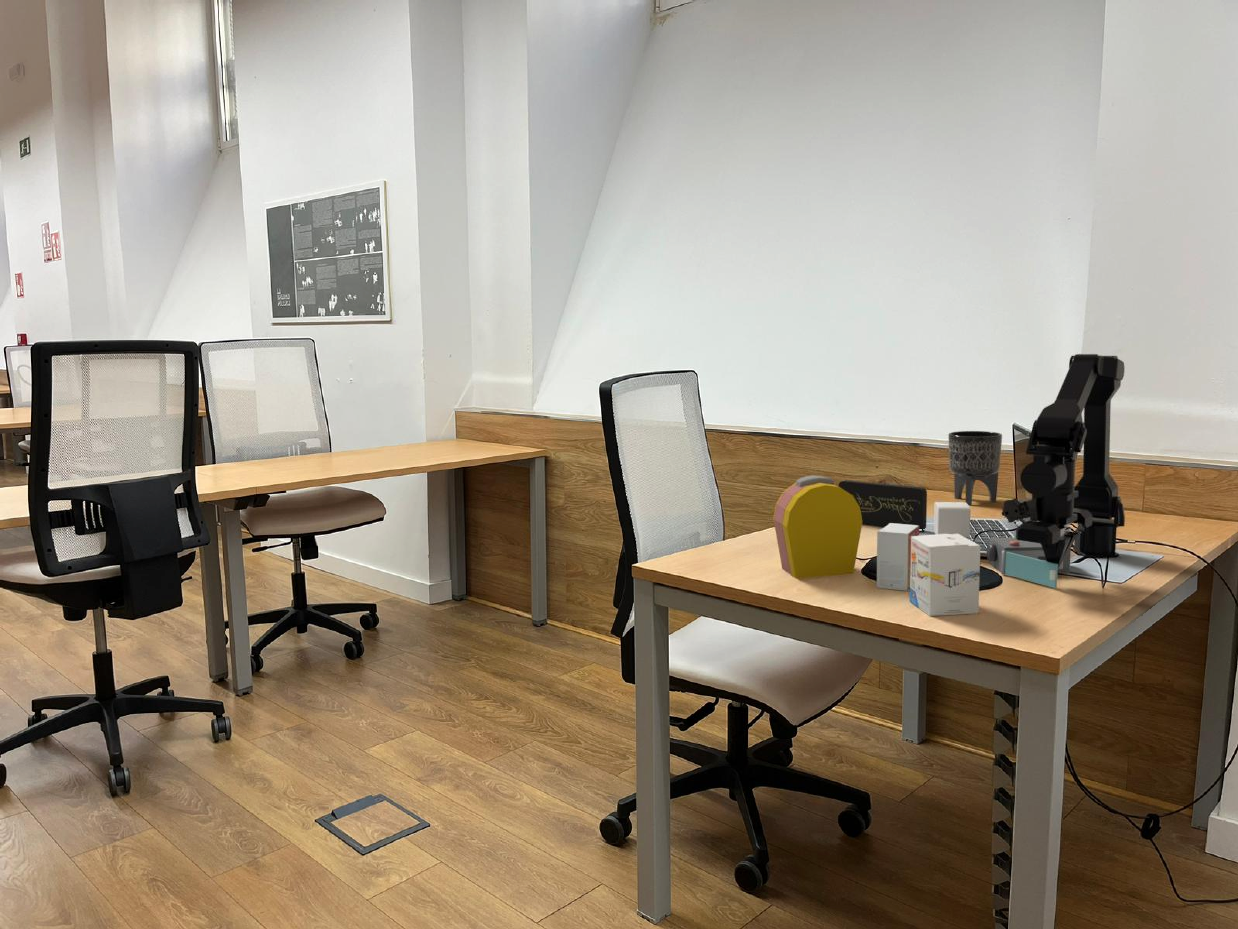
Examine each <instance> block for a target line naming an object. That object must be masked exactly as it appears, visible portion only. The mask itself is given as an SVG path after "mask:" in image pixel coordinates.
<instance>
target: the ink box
mask: <svg viewBox="0 0 1238 929" xmlns="http://www.w3.org/2000/svg"><path fill="white" fill-rule="evenodd" d="M980 569H981V545H980V544H978V543H976V542H974V541H972V540H970V538H966V537H963V536H962V535H960V534H935V533H934V534H924V535H923V534H922V535H919V536H912V537H911V575H910V588H909V602H910V603H911V604H912V605H914V606H915V607H916V608H917V609H919V610H920V611H922V612H924V613H925V614H926V615H928V616H929V617H937V616H938V617H939V616H956V615H958V616H959V615H960V616H961V615H971V614H972V615H974V614H975V615H976V614H979V604H980V601H979V600H980V574H981V573H980Z"/></svg>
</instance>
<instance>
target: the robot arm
mask: <svg viewBox="0 0 1238 929" xmlns="http://www.w3.org/2000/svg"><path fill="white" fill-rule="evenodd" d="M1124 376H1125V362H1124V360H1121V359H1119V358H1118V356H1117V355H1099V354H1098V353H1076V354H1074V355H1071V356H1070V359H1069V363H1068V371H1067V373H1066V375H1065V378H1063V379H1064V380H1063V382H1062V384H1061V387H1060V388H1059V391H1058V394H1057V396H1056V397H1055V400H1054V402H1053V403H1051V404H1049V405H1048V406H1047V405H1046V406H1045V407H1044V408H1042V410H1041V412H1040V413H1039V414H1038V416H1037V418H1036V419H1035V420H1034V421H1033V425H1032V429H1031V431H1030V435H1029V438H1028V439H1029V440H1028V444H1027V446H1026V447H1027V448H1026V451H1025V454H1026V455H1029V456H1032V457H1033V461H1032V462H1030V463H1028V464H1027V465H1026V466H1024V468H1023V469H1022V471H1021V473H1020V477H1019V478H1020V483H1021V486H1022V487H1023V489H1024V490H1025V491H1026V492H1027V493H1028V494H1030V495H1031V497H1030V498H1027V499H1022V500H1018V499H1017V498H1013V499H1008V500H1004V502H1003V506H1001V508H1002V511H1001V515H1002V516H1003V517H1005V518H1006V519H1007V523H1009V524H1011V523H1015V522H1016V521H1018V520H1023V519H1024V520H1025V519H1027V518H1029V520H1028V521H1026V522H1023V523H1021V524H1019V525H1018V526H1017V527H1016V528H1015V538H1016V539H1017V540H1021V541H1027V542H1034V543H1040V544H1041V546H1042V548H1043V551H1044V554H1045V558H1046V561H1047V562H1051V563H1055V564H1058V569H1059V567H1060V565H1061V563H1062V561H1063V560H1064V558H1065V556H1066V554H1067V552H1068V551H1069V549H1070V547H1071V548H1072V550H1073V551H1074V552H1077V553H1078V554H1080V555H1081V556H1084V557H1087V558H1102V557H1103V558H1104V557H1108V556H1110V557H1112V558H1113V557H1120V553H1119V552H1116V549H1117V548H1116V546H1117V530H1118V529H1117V528H1120V527H1121V528H1122V527H1125V526H1126V525H1125V522H1126V518H1125V517H1126V515H1125V510H1124V504H1123V502H1122V498H1121V497H1120V496H1119V486H1118V484H1117V482H1116V481H1115V480H1114V478H1113V477H1112V475H1111V474H1110V449H1111V447H1110V446H1111V445H1110V444H1111V440H1110V439H1111V406H1112V404H1111V402H1112V399H1113V397H1115V395H1116V393H1117V392H1118V390H1119V389H1120V388H1121V384H1122V383H1121V382H1122V380H1123V379H1124ZM1082 414H1083V416H1082ZM1082 450H1083V451H1082ZM1081 452H1083V453H1082V455H1083V460H1082V462H1083V465H1082V467H1083V468H1082V469H1083V470H1082V477H1081V478H1080V479H1079V481H1077V483H1076V480H1075V478H1076V457H1077V456H1078V454H1079V453H1081ZM1075 484H1076V485H1075ZM1072 524H1077V529H1074V531H1071V527H1069V526H1070V525H1072ZM1073 544H1074V545H1073ZM1072 545H1073V546H1072Z"/></svg>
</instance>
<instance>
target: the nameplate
mask: <svg viewBox="0 0 1238 929" xmlns="http://www.w3.org/2000/svg"><path fill="white" fill-rule="evenodd" d="M838 487H840V488H842V489H843V490H845V491H846V492H848V493H850V494H851V495H852V496H853V497H854V499H855V501H856V502H857V504H858V505H859V507H860V511H861V516H862V526H870V527H877V528H884V527H886V526H887V525H888V524H889V523H896V524H907V525H918V526H919V529H922V530H923V529H925V528H926V529H927V513H928V512H927V509H928V506H927V505H928V502H927V501H928V491H927V489H926V488H925V487H921V486H919V487H918V486H912V485H911V486H910V485H900V484H899V485H898V484H889V483H880V482H879V483H878V482H877V483H876V482H871V481H870V482H869V481H860V480H848V479H845V480H842V481H840V482H839V483H838ZM926 529H925V530H926Z"/></svg>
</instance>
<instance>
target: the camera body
mask: <svg viewBox="0 0 1238 929" xmlns="http://www.w3.org/2000/svg"><path fill="white" fill-rule="evenodd" d="M1003 550H1005V551H1007V552H1011V553H1015V554H1019V555H1023V556H1027V557H1031V558H1035V559H1039V560H1043V561H1046V558H1045V554H1044V551H1043V548H1042V546H1041V544H1040V543H1034V542H1027V541H1021V540H1017V539H1016V537H989V544H987V546H986V551H985V554H986V559H987V561H988V563H989V565H991V566H992V567H993V568H995V569H997V570H998V571H999V572H1002V551H1003ZM1071 551H1072V546H1071V547H1070V549H1069V551H1068V552H1067V554H1066V556H1065V558H1064V560H1063V561H1062V563H1061V565H1060V567H1059V569H1058V571H1057V574H1070V572H1071V554H1072V552H1071Z"/></svg>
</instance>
